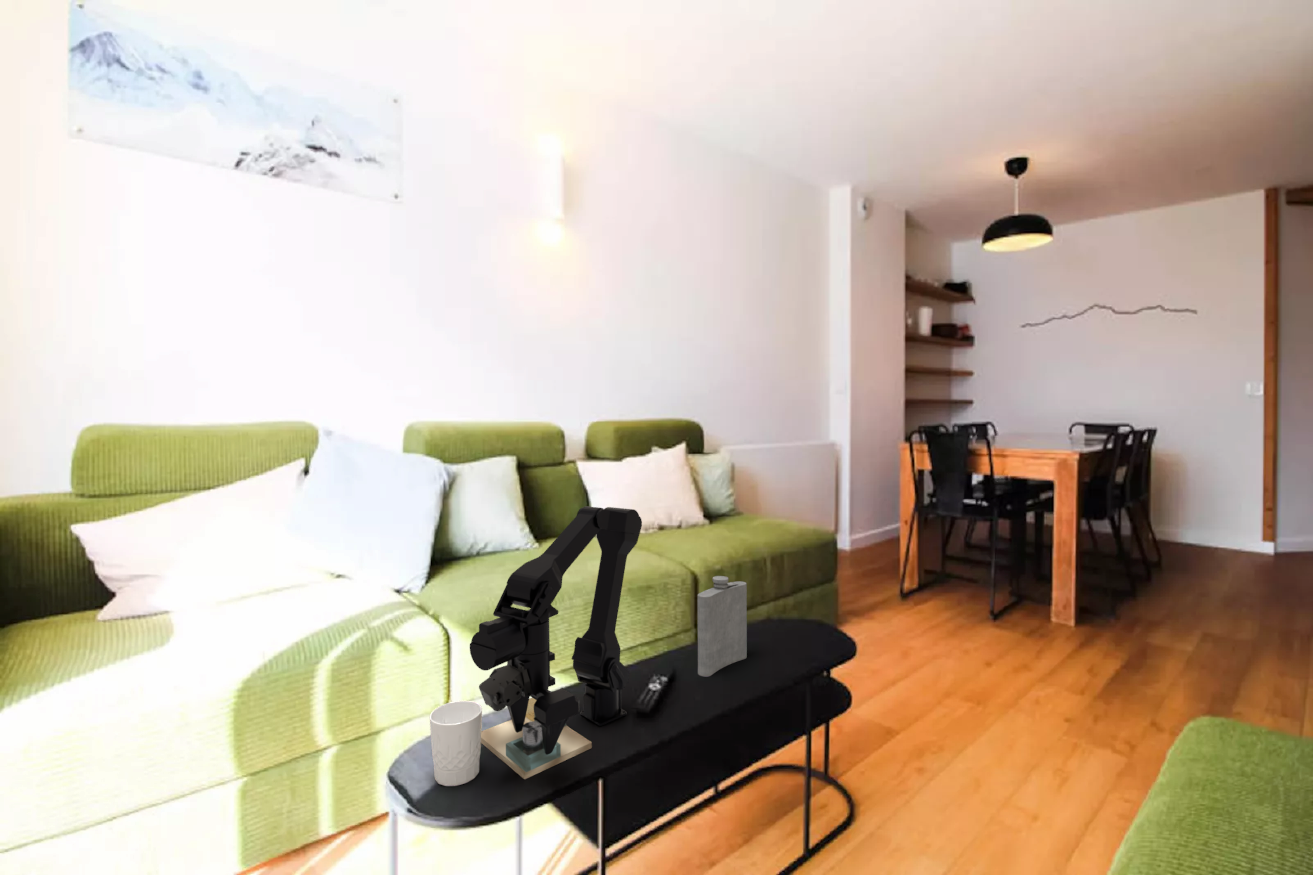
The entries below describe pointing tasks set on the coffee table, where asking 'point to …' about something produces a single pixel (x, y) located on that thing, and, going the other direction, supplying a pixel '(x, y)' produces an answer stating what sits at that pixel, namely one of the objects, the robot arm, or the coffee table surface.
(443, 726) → the white cup
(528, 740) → the spigot peg
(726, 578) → the hip flask
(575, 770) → the coffee table surface
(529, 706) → the tan wooden block
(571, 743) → the dock board
